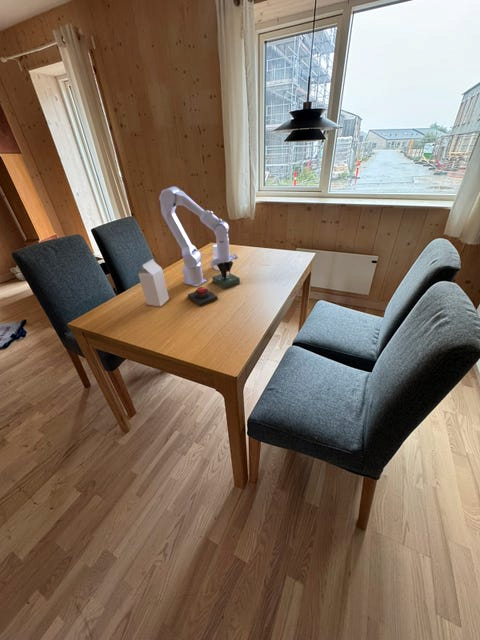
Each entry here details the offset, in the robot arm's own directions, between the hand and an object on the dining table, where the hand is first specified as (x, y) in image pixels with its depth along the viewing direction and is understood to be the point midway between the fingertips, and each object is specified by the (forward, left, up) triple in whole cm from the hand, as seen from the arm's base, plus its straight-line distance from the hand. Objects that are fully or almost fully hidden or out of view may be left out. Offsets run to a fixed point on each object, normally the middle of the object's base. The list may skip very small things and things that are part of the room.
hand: (225, 276), depth 130 cm
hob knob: (0, 0, 0) cm, 0 cm away
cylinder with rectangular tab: (-14, +16, -4) cm, 21 cm away
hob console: (0, 0, -3) cm, 3 cm away
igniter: (0, -18, -3) cm, 19 cm away
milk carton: (-16, -30, -4) cm, 35 cm away
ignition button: (0, -18, 0) cm, 19 cm away
